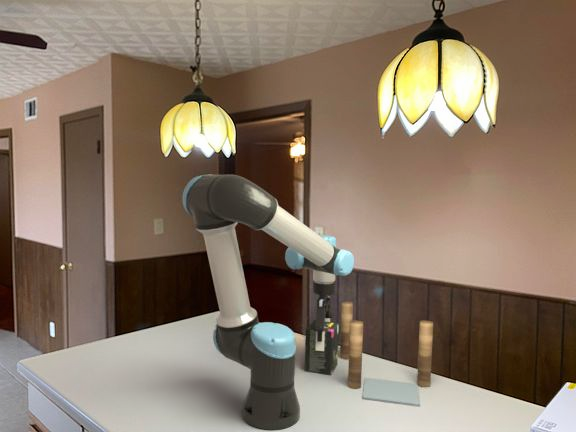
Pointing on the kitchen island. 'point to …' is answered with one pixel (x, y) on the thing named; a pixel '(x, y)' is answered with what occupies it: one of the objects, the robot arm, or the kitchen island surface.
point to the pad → (391, 391)
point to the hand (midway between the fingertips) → (323, 343)
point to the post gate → (345, 329)
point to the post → (425, 353)
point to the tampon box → (322, 359)
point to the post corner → (355, 354)
